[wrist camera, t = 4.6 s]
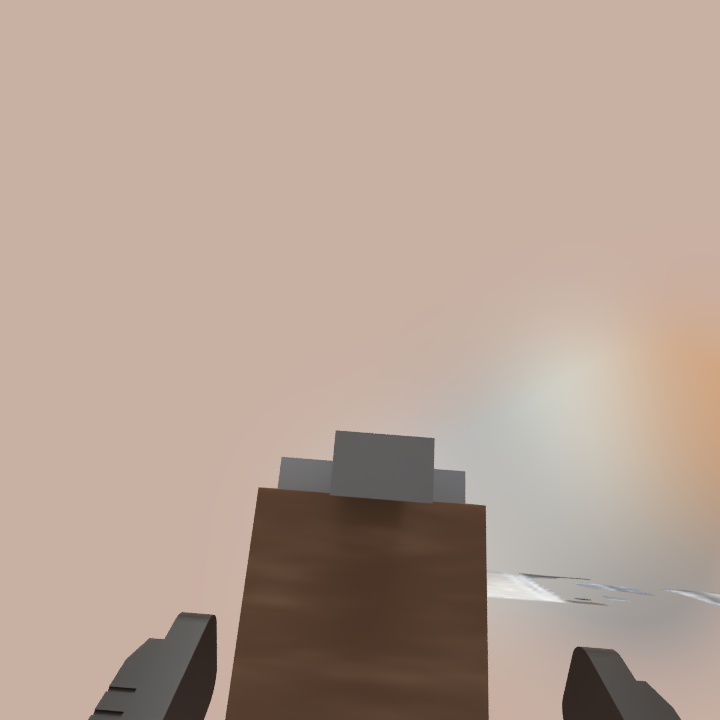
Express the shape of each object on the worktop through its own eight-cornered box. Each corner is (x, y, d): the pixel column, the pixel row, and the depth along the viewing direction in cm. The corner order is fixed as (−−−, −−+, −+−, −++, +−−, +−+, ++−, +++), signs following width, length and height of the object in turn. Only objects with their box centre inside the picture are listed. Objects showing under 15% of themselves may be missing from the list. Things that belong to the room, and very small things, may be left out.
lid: (301, 489, 38) (304, 461, 39) (432, 500, 38) (432, 471, 39) (227, 486, 16) (237, 422, 17) (536, 511, 16) (533, 446, 17)
